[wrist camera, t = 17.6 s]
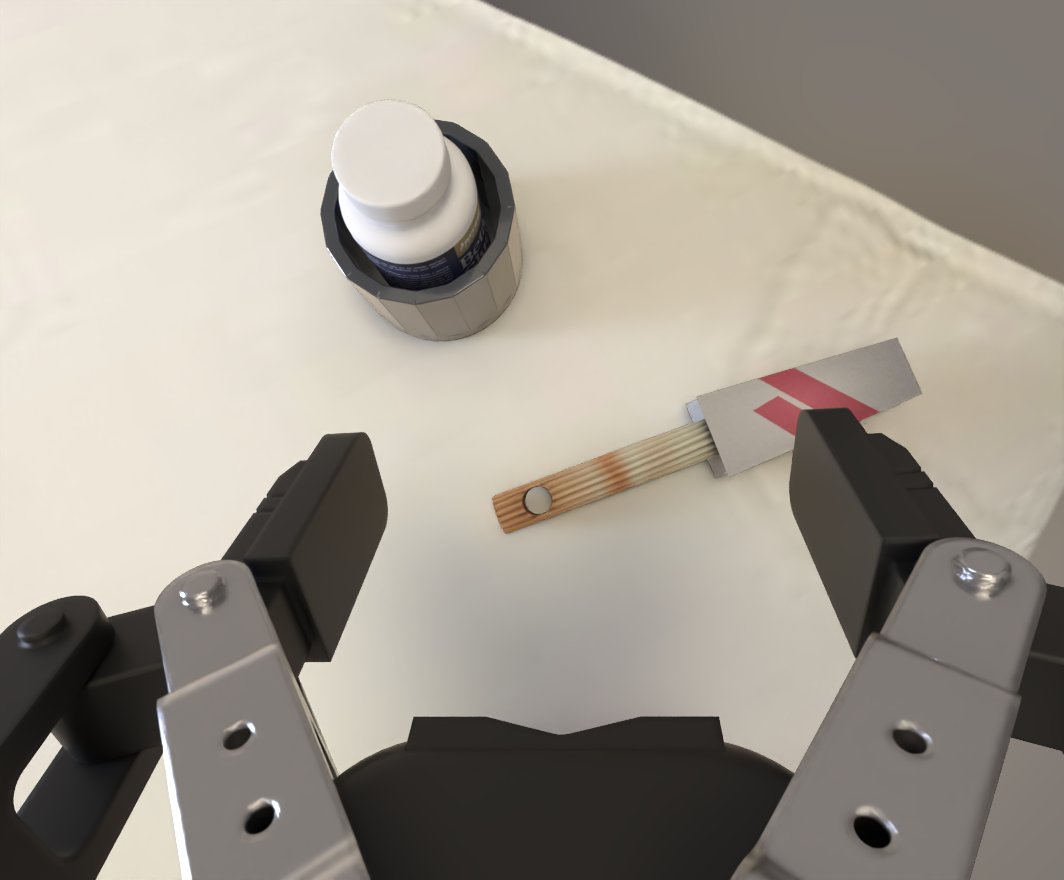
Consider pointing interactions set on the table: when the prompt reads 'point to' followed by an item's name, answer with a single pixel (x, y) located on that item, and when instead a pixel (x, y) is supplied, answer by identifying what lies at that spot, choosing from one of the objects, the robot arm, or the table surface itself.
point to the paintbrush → (729, 429)
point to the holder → (469, 295)
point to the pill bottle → (408, 195)
